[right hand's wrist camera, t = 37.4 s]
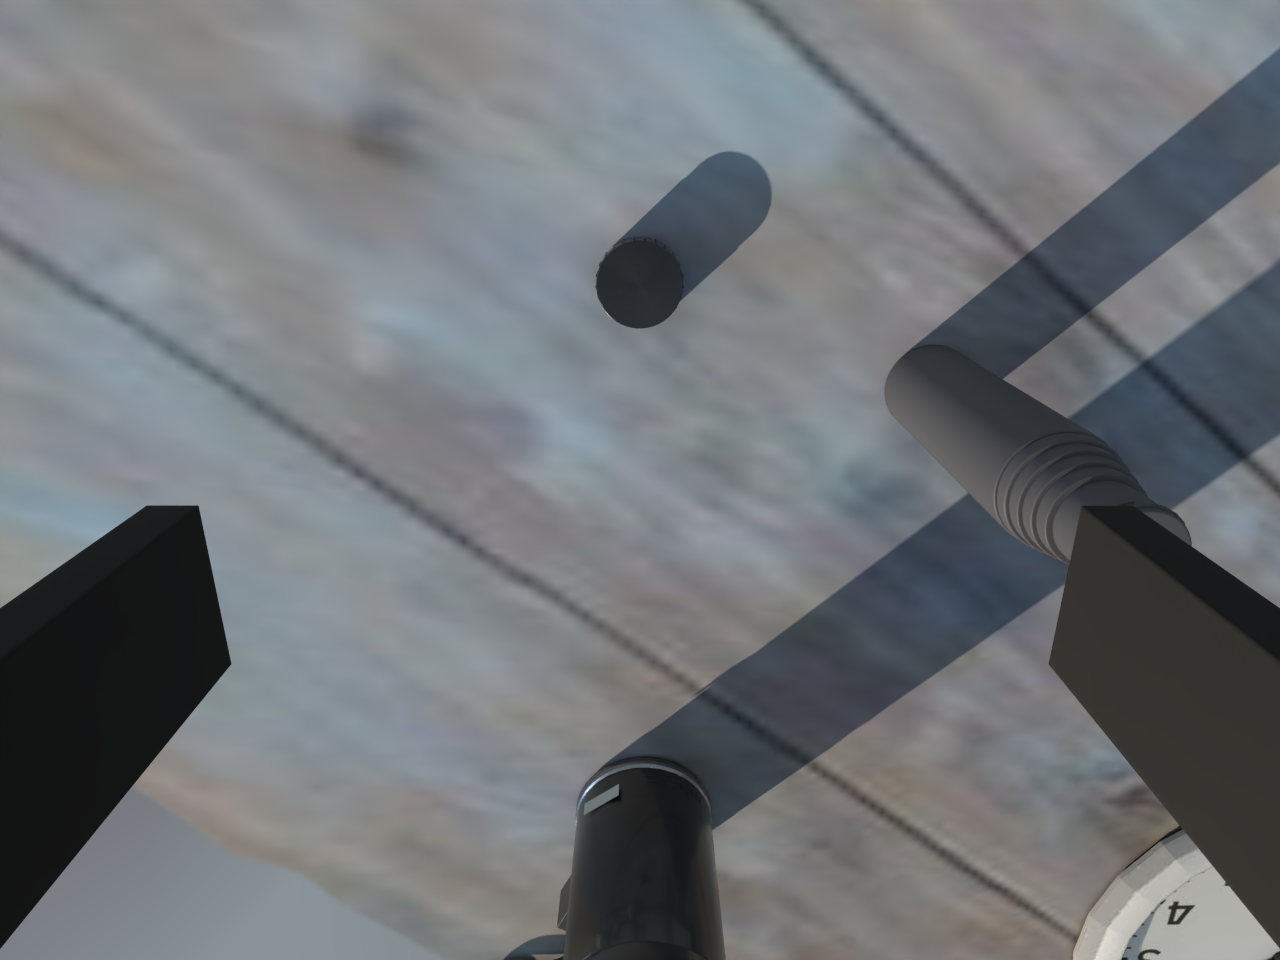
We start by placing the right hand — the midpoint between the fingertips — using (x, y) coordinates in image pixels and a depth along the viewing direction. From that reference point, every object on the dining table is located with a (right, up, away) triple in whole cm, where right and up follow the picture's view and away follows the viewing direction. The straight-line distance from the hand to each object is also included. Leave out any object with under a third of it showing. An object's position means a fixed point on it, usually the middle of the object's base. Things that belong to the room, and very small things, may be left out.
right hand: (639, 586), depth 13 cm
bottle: (+16, +7, +35) cm, 39 cm away
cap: (0, +12, +31) cm, 33 cm away
